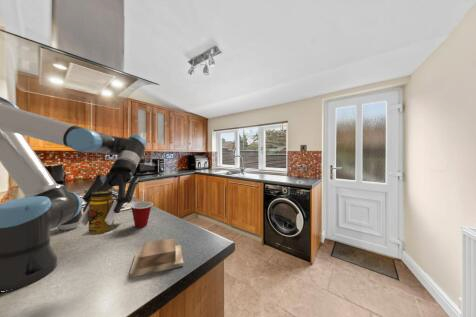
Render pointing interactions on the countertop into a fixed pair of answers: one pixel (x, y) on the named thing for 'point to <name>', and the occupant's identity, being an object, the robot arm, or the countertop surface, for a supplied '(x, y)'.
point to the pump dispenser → (71, 223)
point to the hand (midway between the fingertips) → (95, 222)
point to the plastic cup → (141, 213)
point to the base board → (155, 269)
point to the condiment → (100, 213)
